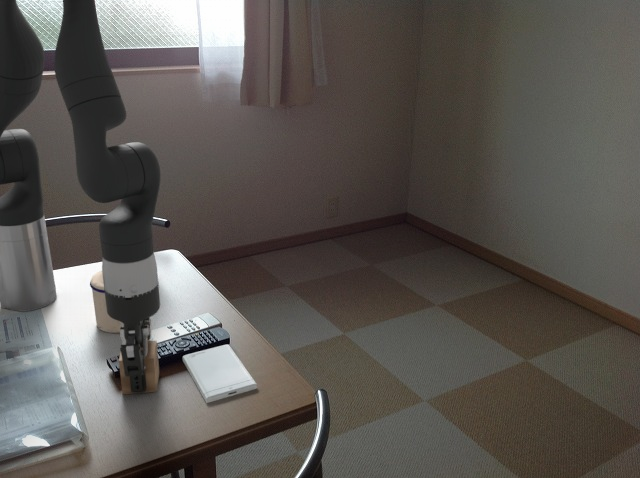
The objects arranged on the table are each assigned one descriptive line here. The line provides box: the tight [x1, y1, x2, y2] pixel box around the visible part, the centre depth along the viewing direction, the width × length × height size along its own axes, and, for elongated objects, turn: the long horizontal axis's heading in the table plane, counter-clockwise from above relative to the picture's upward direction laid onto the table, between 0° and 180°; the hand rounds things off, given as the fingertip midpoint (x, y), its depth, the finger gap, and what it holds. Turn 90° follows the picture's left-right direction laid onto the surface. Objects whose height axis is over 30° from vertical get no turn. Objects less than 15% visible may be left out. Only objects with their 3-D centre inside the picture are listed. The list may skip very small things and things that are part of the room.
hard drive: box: [182, 344, 258, 404], centre depth 94 cm, size 2×8×12 cm
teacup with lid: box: [89, 270, 123, 334], centre depth 108 cm, size 12×9×12 cm
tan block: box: [118, 340, 160, 395], centre depth 91 cm, size 5×5×6 cm
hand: (141, 379), depth 91 cm, fingers closed on tan block, 5 cm apart
